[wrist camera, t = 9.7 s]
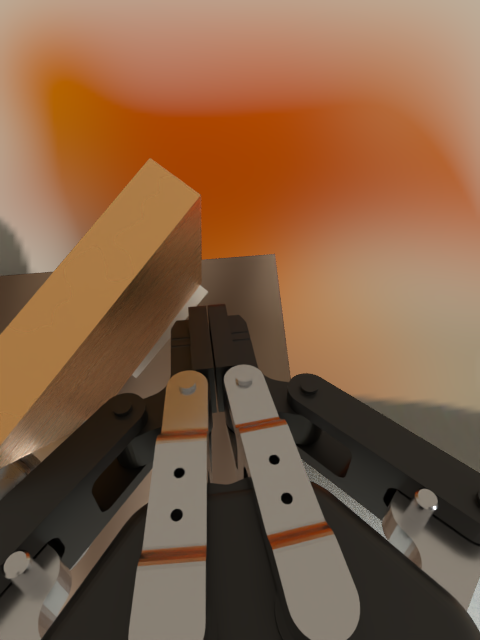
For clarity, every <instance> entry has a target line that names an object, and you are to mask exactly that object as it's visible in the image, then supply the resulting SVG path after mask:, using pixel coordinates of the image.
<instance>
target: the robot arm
mask: <svg viewBox="0 0 480 640" xmlns="http://www.w3.org/2000/svg"><path fill="white" fill-rule="evenodd" d="M207 307H208V317H207V309H206V305H205V306H193V307H188V313H189V319H188V320H177V321H176V322H175V323H174V325H173V327H172V328H171V376H170V380H169V381H168V383H167V386H166V387H165V388H164V389H163V390H161V391H160V392H158V393H156V394H154V395H152V396H149V397H147V398H144V399H143V398H141V397H140V396H139V395H137V394H134V393H122V394H119V395H116V396H114V397H112V398H111V399H109V400H108V401H107V402H106V403H105V404H103V405H102V406H101V407H100V408H99V409H98V410H97V411H96V412H95V413H94V414H93V415H92V416H91V417H89V418H88V419H87V420H86V421H85V422H84V423H83V424H82V425H81V426H80V427H79V428H78V429H77V430H75V431H74V432H73V433H72V434H71V435H70V436H69V437H68V438H67V439H66V440H65V441H64V442H63V443H61V444H60V445H59V446H58V447H57V448H56V449H55V450H54V451H53V452H52V453H51V454H50V455H48V456H47V457H46V458H45V459H44V460H43V461H42V462H41V463H40V464H39V465H38V466H37V467H36V468H34V469H33V470H32V471H31V472H30V473H29V474H28V475H27V476H26V477H25V478H24V479H23V480H22V481H20V482H19V483H18V484H17V485H16V486H15V487H14V488H13V489H12V490H11V491H10V492H9V493H8V494H6V495H5V496H4V497H3V498H2V499H1V500H0V640H480V632H479V630H478V628H477V626H476V625H475V623H474V621H473V620H472V618H471V617H470V615H469V614H468V613H467V609H468V607H469V604H470V601H471V599H472V596H473V593H474V591H475V588H476V585H477V583H478V580H479V577H480V473H478V472H477V471H475V470H473V469H472V468H470V467H469V466H467V465H465V464H464V463H462V462H460V461H459V460H457V459H455V458H454V457H452V456H450V455H449V454H447V453H445V452H444V451H442V450H440V449H439V448H437V447H435V446H434V445H432V444H430V443H429V442H427V441H425V440H424V439H422V438H420V437H419V436H417V435H415V434H414V433H412V432H410V431H409V430H407V429H405V428H404V427H402V426H400V425H399V424H397V423H395V422H394V421H392V420H390V419H389V418H387V417H385V416H384V415H382V414H380V413H379V412H377V411H375V410H374V409H372V408H370V407H369V406H367V405H365V404H364V403H362V402H360V401H359V400H357V399H355V398H354V397H352V396H351V395H349V394H347V393H346V392H344V391H342V390H341V389H339V388H337V387H336V386H334V385H332V384H331V383H329V382H327V381H326V380H324V379H322V378H321V377H319V376H316V375H313V374H299V375H296V376H294V377H293V378H292V379H291V380H290V381H289V382H285V381H278V380H274V379H271V378H269V377H267V376H265V375H264V374H263V373H262V372H261V371H260V370H259V368H258V365H257V361H256V358H255V354H254V350H253V346H252V342H251V339H250V334H249V331H248V327H247V323H246V321H245V320H244V319H243V318H242V317H241V316H240V315H230V316H228V315H227V310H226V305H225V304H215V305H207ZM208 321H209V325H208ZM215 386H216V391H215ZM216 394H217V402H218V410H219V412H224V411H225V418H226V431H227V436H228V440H229V444H230V449H231V453H232V457H233V462H234V466H235V471H236V475H237V482H234V483H232V484H217V483H213V472H212V428H213V417H212V413H217V406H216ZM301 459H303V460H304V461H305V462H306V463H308V464H309V465H310V466H312V467H313V468H314V469H316V470H317V471H318V472H319V473H321V474H322V475H323V476H325V477H326V478H327V479H329V480H330V481H331V482H332V483H334V484H335V485H336V486H338V487H339V488H340V489H342V490H343V491H344V492H345V493H347V494H348V495H349V496H351V497H352V498H353V499H355V500H356V501H357V502H358V503H360V504H361V505H362V506H364V507H365V508H366V509H367V510H369V511H370V512H371V513H373V514H374V515H375V516H377V517H378V518H379V519H380V520H382V527H383V531H384V534H385V536H386V538H387V540H388V541H387V540H386V539H385V538H384V537H383V536H381V535H380V534H379V533H378V532H377V531H375V530H374V529H373V528H372V527H371V526H370V525H368V524H367V523H366V522H365V521H364V520H362V519H361V518H360V517H359V516H358V515H356V514H355V513H354V512H353V511H352V510H351V509H349V508H348V507H347V506H346V505H345V504H343V503H342V502H341V501H340V500H339V499H337V498H336V497H335V496H334V495H333V494H331V493H330V492H329V491H328V490H326V489H325V488H323V487H321V486H320V485H318V484H316V483H314V482H311V481H310V480H309V478H308V475H307V473H306V470H305V467H304V465H303V462H302V460H301ZM151 469H152V476H151V484H150V492H149V500H148V503H147V504H145V505H144V506H143V507H141V508H140V509H139V510H138V511H136V512H135V513H134V514H133V515H132V516H131V517H130V519H129V520H128V521H127V522H126V523H125V525H124V526H123V527H122V529H121V530H120V531H119V533H118V534H117V535H116V537H115V538H114V540H113V541H112V542H111V544H110V545H109V546H108V548H107V549H106V551H105V552H104V553H103V555H102V556H101V557H100V559H99V560H98V562H97V563H96V564H95V566H94V567H93V568H92V570H91V571H90V573H89V574H88V575H87V577H86V578H85V579H84V581H83V582H82V584H81V585H80V586H79V588H78V589H77V590H76V592H75V593H74V595H73V596H72V597H71V599H70V600H69V601H68V603H67V604H66V606H65V607H64V608H63V610H62V611H61V612H60V614H59V615H58V613H59V611H60V610H61V608H62V606H63V605H64V603H65V602H66V600H67V598H68V596H69V593H70V590H71V585H72V575H71V572H70V569H71V568H72V567H73V566H74V564H75V563H76V562H77V561H78V559H79V558H80V557H81V556H82V554H83V553H84V552H85V551H86V550H87V548H88V547H89V546H90V545H91V543H92V542H93V541H94V540H95V538H96V537H97V536H98V535H99V533H100V532H101V531H102V530H103V529H104V527H105V526H106V525H107V524H108V522H109V521H110V520H111V519H112V517H113V516H114V515H115V514H116V512H117V511H118V510H119V509H120V508H121V506H122V505H123V504H124V503H125V501H126V500H127V499H128V498H129V496H130V495H131V494H132V493H133V492H134V490H135V489H136V488H137V487H138V485H139V484H140V483H141V482H142V480H143V479H144V478H145V477H146V475H147V474H148V473H149V472H150V471H151ZM57 616H58V617H57Z"/></svg>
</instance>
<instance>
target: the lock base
mask: <svg viewBox="0 0 480 640" xmlns="http://www.w3.org/2000/svg"><path fill="white" fill-rule="evenodd" d="M52 273H53V272H45V273H32V274H19V275H7V276H0V334H1V333H2V332H3V331H4V330H5V329H6V327H7V326H8V325H9V324H10V323H11V321H12V320H13V319H14V318H15V317H16V316H17V314H18V313H19V312H20V311H21V310H22V308H23V307H24V306H25V305H26V304H27V303H28V301H29V300H30V299H31V298H32V297H33V296H34V294H35V293H36V292H37V291H38V290H39V288H40V287H41V286H42V285H43V284H44V283H45V281H46V280H47V279H48V278H49V277H50V275H51V274H52ZM215 304H225V305H226V310H227V315H228V316H230V315H240V316H241V317H242V318H243V319H244V320H245V321H246V323H247V327H248V331H249V334H250V339H251V342H252V346H253V350H254V354H255V358H256V361H257V365H258V368H259V370H260V371H261V372H262V373H263V374H264V375H265V376H267V377H269V378H271V379H274V380H278V381H285V382H289V381H290V380H291V378H290V370H289V362H288V355H287V347H286V338H285V330H284V322H283V314H282V307H281V298H280V291H279V283H278V275H277V267H276V259H275V254H269V255H258V256H245V257H232V258H219V259H207V260H202V283H201V285H200V286H199V287H198V289H197V290H196V291H195V292H194V294H193V295H192V296H191V298H190V299H189V300H188V302H187V303H186V304H185V306H184V307H183V308H182V310H181V311H180V312H179V314H178V315H177V316H176V317H175V319H174V320H173V321H172V323H171V324H170V325H169V327H168V328H167V329H166V331H165V332H164V333H163V335H162V336H161V337H160V339H159V340H158V341H157V342H156V344H155V345H154V346H153V348H152V349H151V350H150V352H149V353H148V354H147V356H146V357H145V358H144V360H143V361H142V362H141V364H140V365H139V366H138V367H137V369H136V370H135V371H134V373H133V374H132V375H131V377H130V378H129V379H128V381H127V382H126V383H125V385H124V386H123V387H122V389H121V390H120V391H119V392H118V394H117V395H119V394H122V393H134V394H137V395H139V396H140V397H141V398H143V399H144V398H147V397H149V396H152V395H154V394H156V393H158V392H160V391H161V390H163V389H164V388H165V387H166V386H167V383H168V381H169V380H170V376H171V328H172V327H173V325H174V323H175V322H176V321H177V320H188V319H189V313H188V307H193V306H205V305H206V309H207V317H208V307H207V305H215ZM208 325H209V321H208ZM215 391H216V386H215ZM216 406H217V413H212V417H213V428H212V472H213V483H217V484H232V483H234V482H237V475H236V471H235V466H234V462H233V457H232V453H231V449H230V444H229V440H228V436H227V431H226V418H225V411H224V412H219V410H218V402H217V394H216ZM151 476H152V469H151V471H150V472H149V473H148V474H147V475H146V477H145V478H144V479H143V480H142V482H141V483H140V484H139V485H138V487H137V488H136V489H135V490H134V492H133V493H132V494H131V495H130V496H129V498H128V499H127V500H126V501H125V503H124V504H123V505H122V506H121V508H120V509H119V510H118V511H117V512H116V514H115V515H114V516H113V517H112V519H111V520H110V521H109V522H108V524H107V525H106V526H105V527H104V529H103V530H102V531H101V532H100V533H99V535H98V536H97V537H96V538H95V540H94V541H93V542H92V544H91V545H90V547H89V549H88V550H87V552H86V553H85V555H84V556H83V557H82V558H81V559H80V561H79V562H78V563H77V564H76V566H74V567H73V568H72V569H71V570H70V572H71V575H72V585H71V590H70V593H69V596H68V598H67V600H66V602H65V603H64V605H63V606H62V608H61V610H60V611H59V613H58V615H59V614H60V612H61V611H62V610H63V608H64V607H65V606H66V604H67V603H68V601H69V600H70V599H71V597H72V596H73V595H74V593H75V592H76V590H77V589H78V588H79V586H80V585H81V584H82V582H83V581H84V579H85V578H86V577H87V575H88V574H89V573H90V571H91V570H92V568H93V567H94V566H95V564H96V563H97V562H98V560H99V559H100V557H101V556H102V555H103V553H104V552H105V551H106V549H107V548H108V546H109V545H110V544H111V542H112V541H113V540H114V538H115V537H116V535H117V534H118V533H119V531H120V530H121V529H122V527H123V526H124V525H125V523H126V522H127V521H128V520H129V519H130V517H131V516H132V515H133V514H134V513H135V512H136V511H138V510H139V509H140V508H141V507H143V506H144V505H145V504H147V503H148V500H149V492H150V484H151ZM57 617H58V616H57Z"/></svg>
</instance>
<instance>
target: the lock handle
mask: <svg viewBox="0 0 480 640" xmlns="http://www.w3.org/2000/svg"><path fill="white" fill-rule="evenodd" d="M201 283H202V260H201V195H200V194H199V193H197V192H196V191H194V190H193V189H192V188H190V187H189V186H188V185H186V184H185V183H184V182H182V181H181V180H179V179H178V178H177V177H175V176H174V175H173V174H171V173H170V172H168V171H167V170H166V169H164V168H163V167H162V166H160V165H159V164H157V163H156V162H155V161H153V160H152V159H149V160H148V161H147V163H146V164H145V165H144V166H143V167H142V168H141V169H140V170H139V172H138V173H137V174H136V175H135V176H134V178H133V179H132V180H131V181H130V182H129V184H128V185H127V186H126V187H125V188H124V189H123V191H122V192H121V193H120V194H119V195H118V196H117V198H116V199H115V200H114V201H113V202H112V204H111V205H110V206H109V207H108V209H106V211H105V212H104V213H103V214H102V215H101V216H100V218H99V219H98V220H97V221H96V222H95V224H94V225H93V226H92V227H91V228H90V230H89V231H88V232H87V233H86V234H85V235H84V237H83V238H82V239H81V240H80V241H79V242H78V244H77V245H76V246H75V247H74V248H73V250H72V251H71V252H70V253H69V254H68V255H67V257H66V258H65V259H64V260H63V261H62V263H61V264H60V265H59V266H58V267H57V268H56V270H55V271H54V272H53V273H52V274H51V275H50V277H49V278H48V279H47V280H46V281H45V283H44V284H43V285H42V286H41V287H40V288H39V290H38V291H37V292H36V293H35V294H34V296H33V297H32V298H31V299H30V300H29V301H28V303H27V304H26V305H25V306H24V307H23V308H22V310H21V311H20V312H19V313H18V314H17V316H16V317H15V318H14V319H13V320H12V321H11V323H10V324H9V325H8V326H7V327H6V329H5V330H4V331H3V332H2V333H1V334H0V500H1V499H2V498H3V497H4V496H5V495H6V494H8V493H9V492H10V491H11V490H12V489H13V488H14V487H15V486H16V485H17V484H18V483H19V482H20V481H22V480H23V479H24V478H25V477H26V476H27V475H28V474H29V473H30V472H31V471H32V470H33V469H34V468H36V467H37V466H38V465H39V464H40V463H41V462H42V461H43V460H44V459H45V458H46V457H47V456H48V455H50V454H51V453H52V452H53V451H54V450H55V449H56V448H57V447H58V446H59V445H60V444H61V443H63V442H64V441H65V440H66V439H67V438H68V437H69V436H70V435H71V434H72V433H73V432H74V431H75V430H77V429H78V428H79V427H80V426H81V425H82V424H83V423H84V422H85V421H86V420H87V419H88V418H89V417H91V416H92V415H93V414H94V413H95V412H96V411H97V410H98V409H99V408H100V407H101V406H102V405H103V404H105V403H106V402H107V401H108V400H109V399H111V398H112V397H114V396H116V395H117V394H118V392H119V391H120V390H121V389H122V387H123V386H124V385H125V383H126V382H127V381H128V379H129V378H130V377H131V375H132V374H133V373H134V371H135V370H136V369H137V367H138V366H139V365H140V364H141V362H142V361H143V360H144V358H145V357H146V356H147V354H148V353H149V352H150V350H151V349H152V348H153V346H154V345H155V344H156V342H157V341H158V340H159V339H160V337H161V336H162V335H163V333H164V332H165V331H166V329H167V328H168V327H169V325H170V324H171V323H172V321H173V320H174V319H175V317H176V316H177V315H178V314H179V312H180V311H181V310H182V308H183V307H184V306H185V304H186V303H187V302H188V300H189V299H190V298H191V296H192V295H193V294H194V292H195V291H196V290H197V289H198V287H199V286H200V285H201ZM91 544H92V543H91ZM89 547H90V546H89ZM89 547H88V548H87V550H88V549H89ZM87 550H86V551H85V552H84V553H83V554H82V556H81V557H80V558H79V559H78V561H77V562H76V563H75V564H74V566H76V564H77V563H78V562H79V561H80V559H81V558H82V557H83V556H84V555H85V553H86V552H87ZM74 566H73V567H74ZM73 567H72V568H73ZM72 568H71V569H72ZM71 569H70V570H71Z"/></svg>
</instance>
